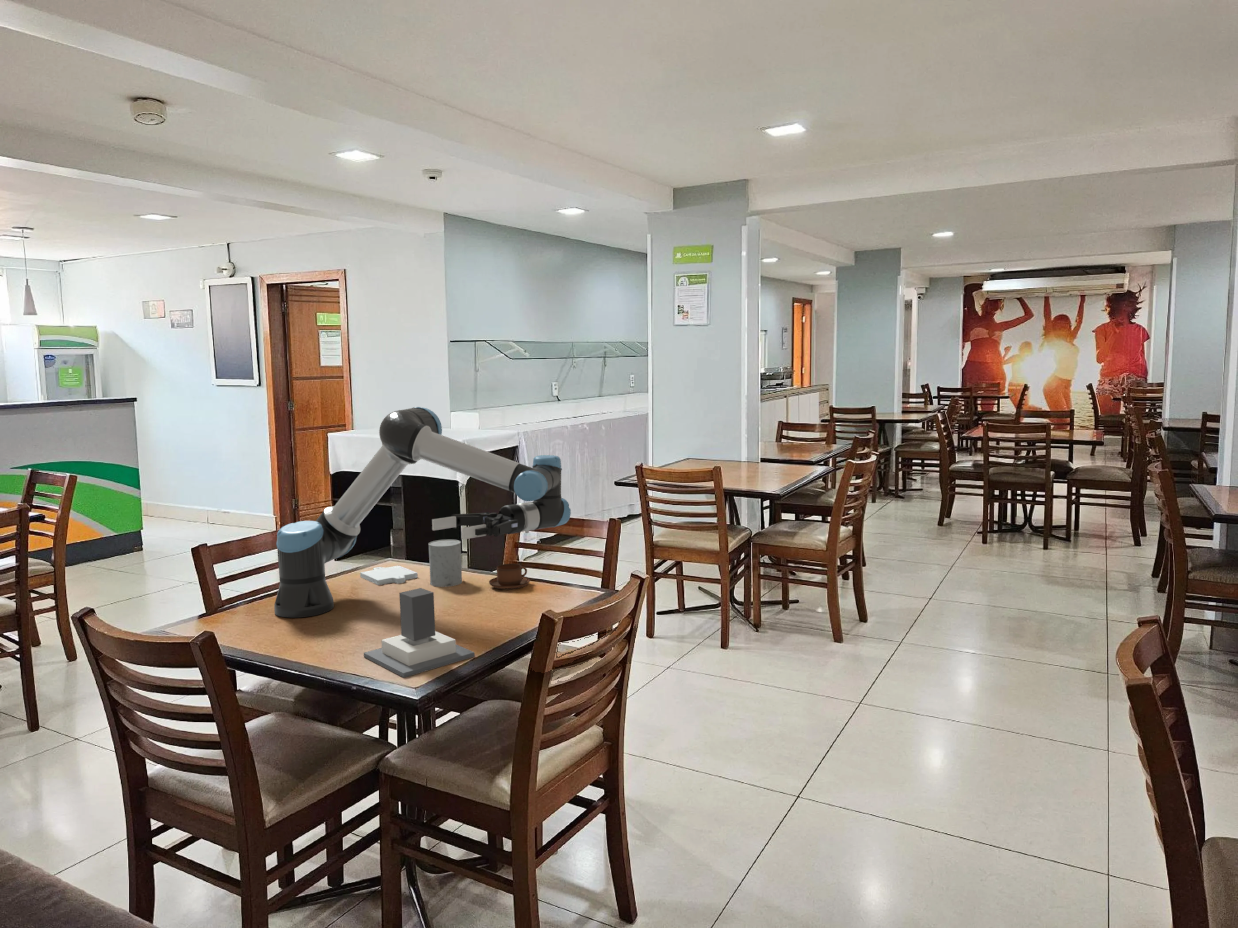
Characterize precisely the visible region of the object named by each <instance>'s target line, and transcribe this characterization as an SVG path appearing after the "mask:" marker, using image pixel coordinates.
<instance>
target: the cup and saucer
mask: <svg viewBox="0 0 1238 928" xmlns="http://www.w3.org/2000/svg"><path fill="white" fill-rule="evenodd" d="M522 570H524V573H523V571H522ZM527 573H528V569H527V567H525V566H522V565H521V564H519V563H504V564H499V565H497V566H496V577H493V578H491V579H489V581H488V583H489V585H490V586H491V587H492V588H495V589H499V590H506V591H507V590H517V589H521V588H524V587H526V586H527V585H528V584H530V582H531V579H530V577H527V576H526V575H527ZM522 578H523V579H522ZM526 579H527V580H526Z"/></svg>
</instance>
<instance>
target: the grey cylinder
mask: <svg viewBox="0 0 1238 928" xmlns="http://www.w3.org/2000/svg"><path fill="white" fill-rule="evenodd" d="M461 543H462V541H461V540H458V539H453V538H452V539H446V538H445V539H438V540H433V541H430V542H428V558H429V559H428V560H429V582H430V584H429V585H430V586H432V587H436V588H437V587H438V588H445V587H447V588H450V587H454V586H458V585H460V584H462V583H463V577H462V575H463V572H462V569H463V568H462V549H461V548H462V547H461Z"/></svg>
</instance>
